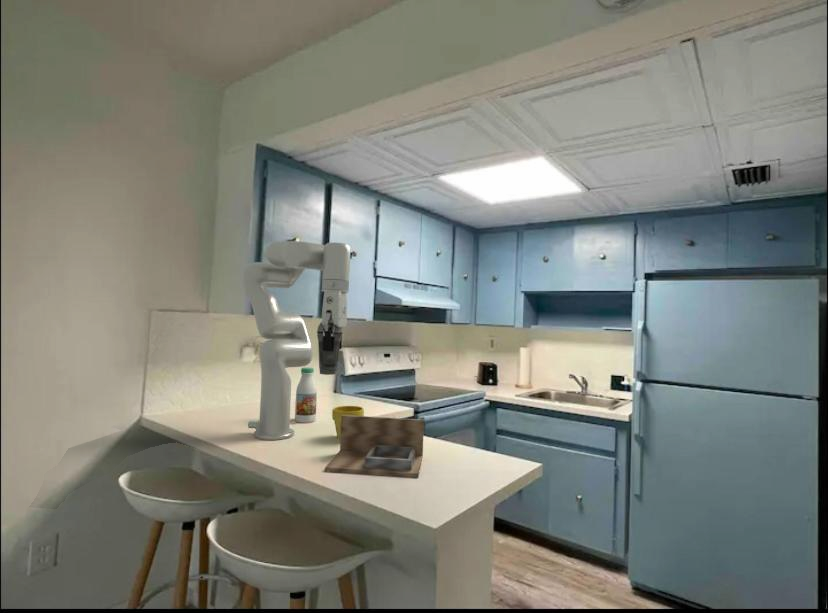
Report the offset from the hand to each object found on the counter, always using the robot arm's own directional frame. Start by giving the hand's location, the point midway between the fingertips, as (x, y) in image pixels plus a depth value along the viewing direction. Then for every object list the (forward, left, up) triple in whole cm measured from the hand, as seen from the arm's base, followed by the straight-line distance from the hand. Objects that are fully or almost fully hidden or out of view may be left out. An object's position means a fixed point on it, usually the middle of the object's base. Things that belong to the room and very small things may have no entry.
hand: (332, 349), depth 125 cm
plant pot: (0, +22, -31) cm, 38 cm away
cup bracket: (+14, -2, -30) cm, 34 cm away
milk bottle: (-21, +42, -31) cm, 56 cm away
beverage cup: (-1, 0, -7) cm, 7 cm away
